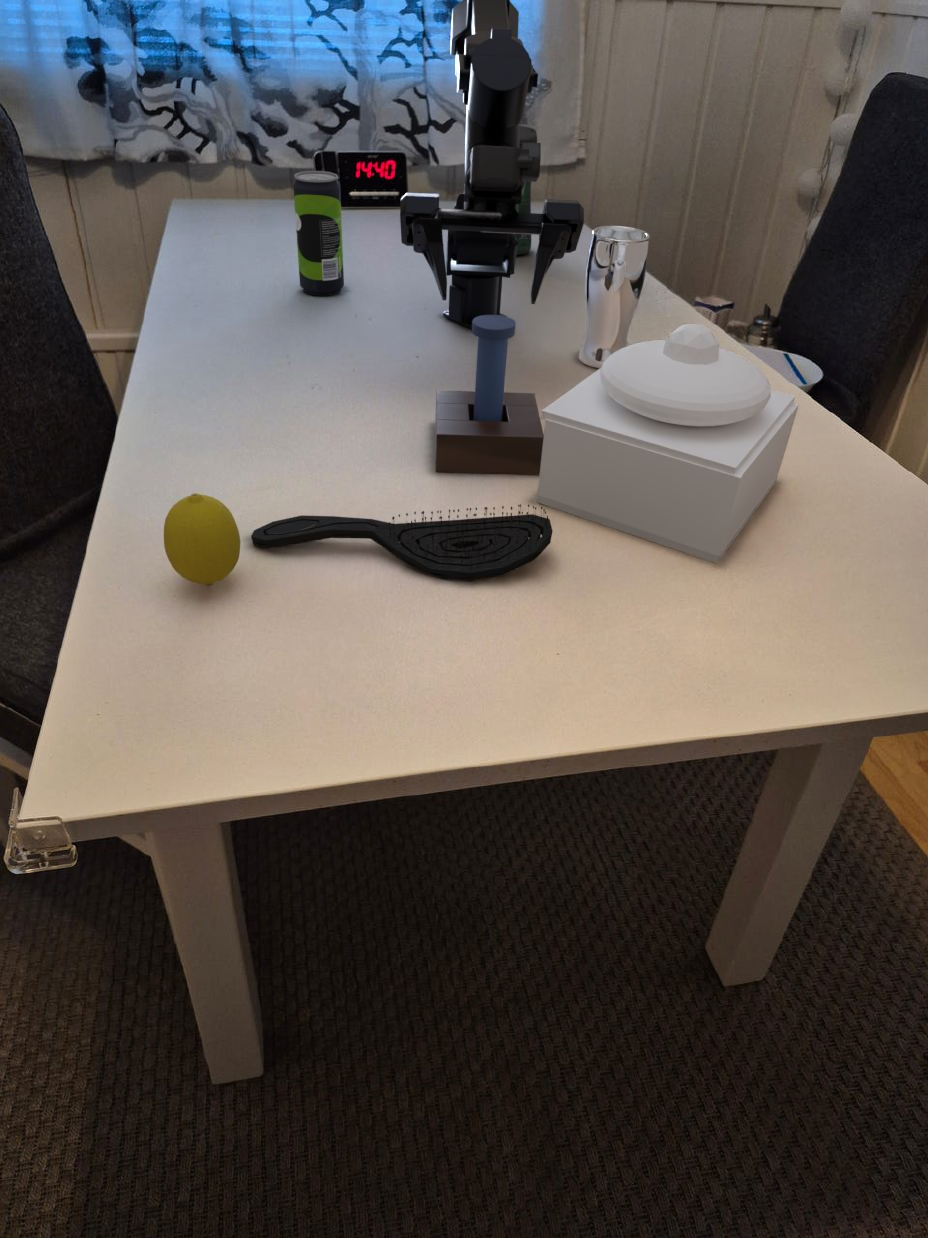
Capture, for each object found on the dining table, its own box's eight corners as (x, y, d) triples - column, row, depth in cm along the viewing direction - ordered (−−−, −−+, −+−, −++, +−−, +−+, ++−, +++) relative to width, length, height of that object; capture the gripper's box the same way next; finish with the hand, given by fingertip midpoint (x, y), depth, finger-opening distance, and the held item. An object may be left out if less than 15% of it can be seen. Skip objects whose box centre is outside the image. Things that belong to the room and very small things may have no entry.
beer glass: (637, 356, 111) (658, 230, 102) (621, 374, 106) (642, 244, 97) (585, 345, 114) (601, 221, 104) (567, 363, 108) (582, 234, 99)
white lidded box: (717, 563, 74) (765, 385, 65) (531, 500, 82) (549, 330, 72) (777, 482, 86) (824, 320, 77) (610, 432, 94) (634, 279, 84)
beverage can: (348, 284, 129) (344, 171, 119) (339, 298, 124) (334, 181, 114) (306, 281, 129) (298, 168, 120) (295, 295, 124) (287, 178, 115)
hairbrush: (259, 487, 75) (551, 491, 75) (265, 524, 78) (548, 528, 77) (236, 540, 69) (555, 545, 68) (243, 578, 71) (553, 583, 70)
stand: (435, 425, 93) (436, 389, 91) (530, 428, 94) (534, 392, 91) (435, 472, 85) (436, 434, 83) (540, 474, 86) (544, 437, 83)
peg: (458, 445, 90) (464, 318, 82) (489, 437, 92) (498, 311, 84) (481, 462, 87) (489, 332, 79) (513, 452, 89) (524, 325, 81)
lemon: (179, 564, 71) (162, 476, 66) (249, 563, 71) (238, 476, 67) (166, 605, 67) (148, 514, 62) (241, 604, 67) (228, 514, 62)
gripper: (400, 101, 84) (395, 255, 82) (594, 111, 85) (593, 263, 83) (404, 173, 95) (399, 310, 93) (575, 181, 96) (574, 317, 94)
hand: (489, 300), depth 91 cm, fingers open, 9 cm apart
